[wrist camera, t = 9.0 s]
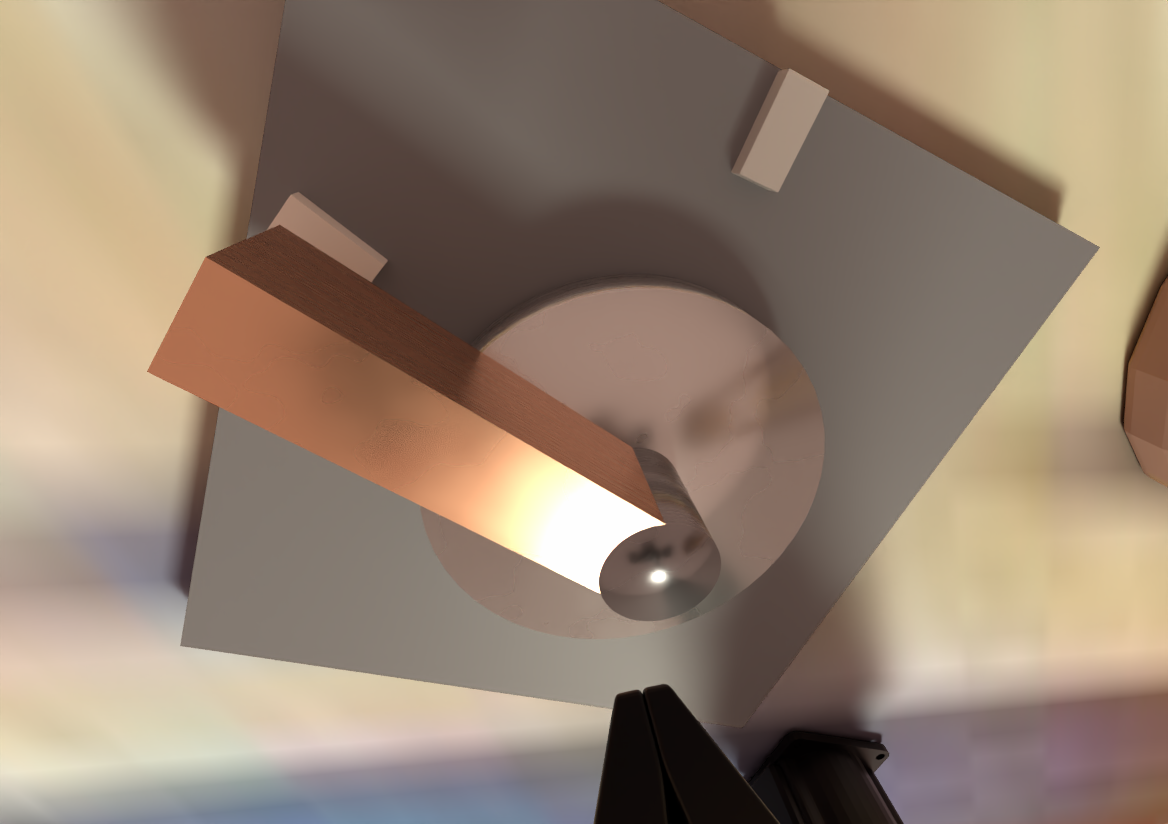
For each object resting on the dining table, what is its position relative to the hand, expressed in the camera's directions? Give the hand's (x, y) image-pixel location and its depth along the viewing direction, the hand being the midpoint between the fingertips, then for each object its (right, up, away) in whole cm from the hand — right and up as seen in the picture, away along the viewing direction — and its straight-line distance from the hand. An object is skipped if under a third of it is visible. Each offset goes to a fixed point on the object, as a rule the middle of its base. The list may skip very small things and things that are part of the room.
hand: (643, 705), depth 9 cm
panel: (0, +4, +11) cm, 12 cm away
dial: (-2, +4, +8) cm, 10 cm away
